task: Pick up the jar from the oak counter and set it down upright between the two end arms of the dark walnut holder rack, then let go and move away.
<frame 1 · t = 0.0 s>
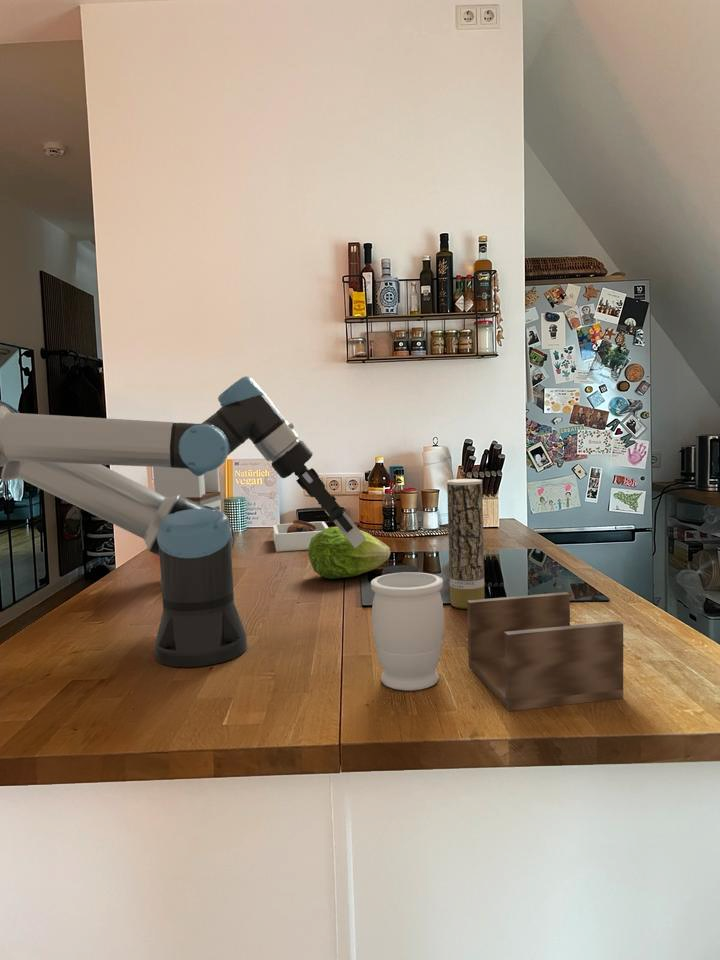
hand: (354, 536, 132), 15 cm above the worktop, fingers open, 13 cm apart
jar: (409, 681, 100), on the worktop
smart speaker: (402, 587, 154), on the worktop
paper tube: (467, 606, 137), on the worktop
lettuce: (353, 575, 166), on the worktop
display case: (194, 582, 165), on the worktop
holder: (540, 680, 98), on the worktop
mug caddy: (301, 543, 207), on the worktop
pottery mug: (301, 545, 207), on the worktop
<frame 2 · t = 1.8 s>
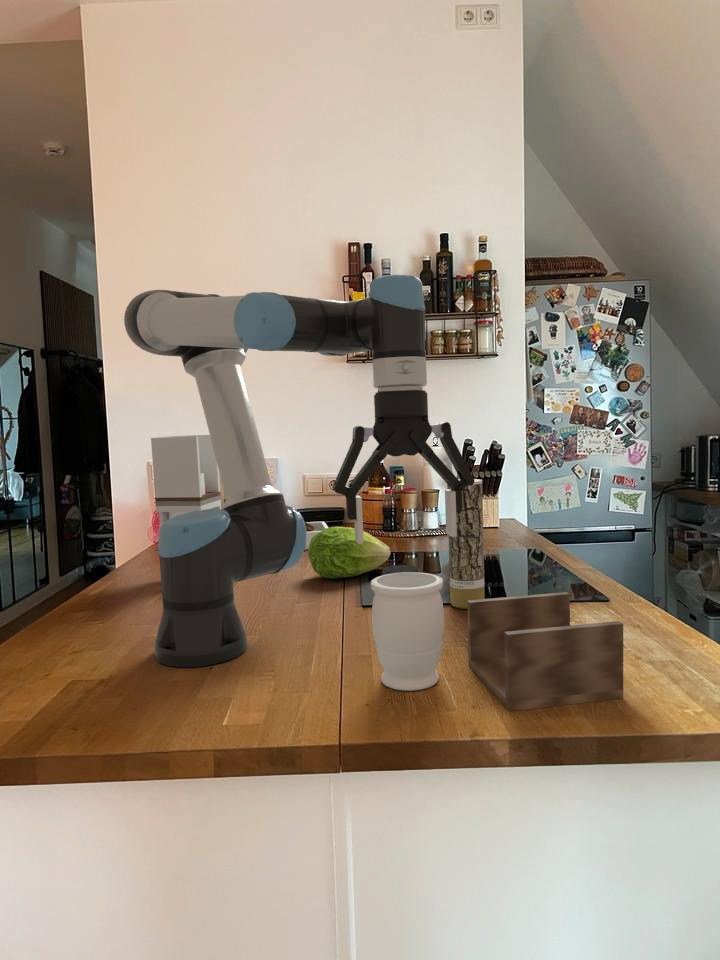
hand: (405, 538, 99), 21 cm above the worktop, fingers open, 13 cm apart
nothing on the worktop moved.
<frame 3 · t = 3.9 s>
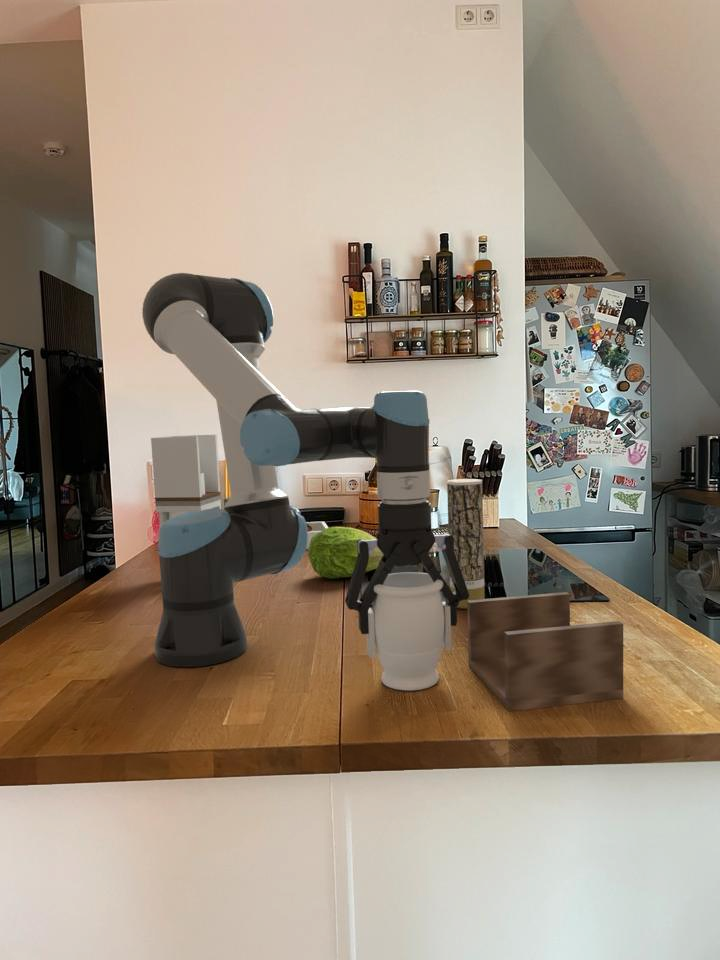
hand: (409, 651, 100), 4 cm above the worktop, fingers closed on jar, 10 cm apart
jar: (410, 681, 100), on the worktop, touching gripper
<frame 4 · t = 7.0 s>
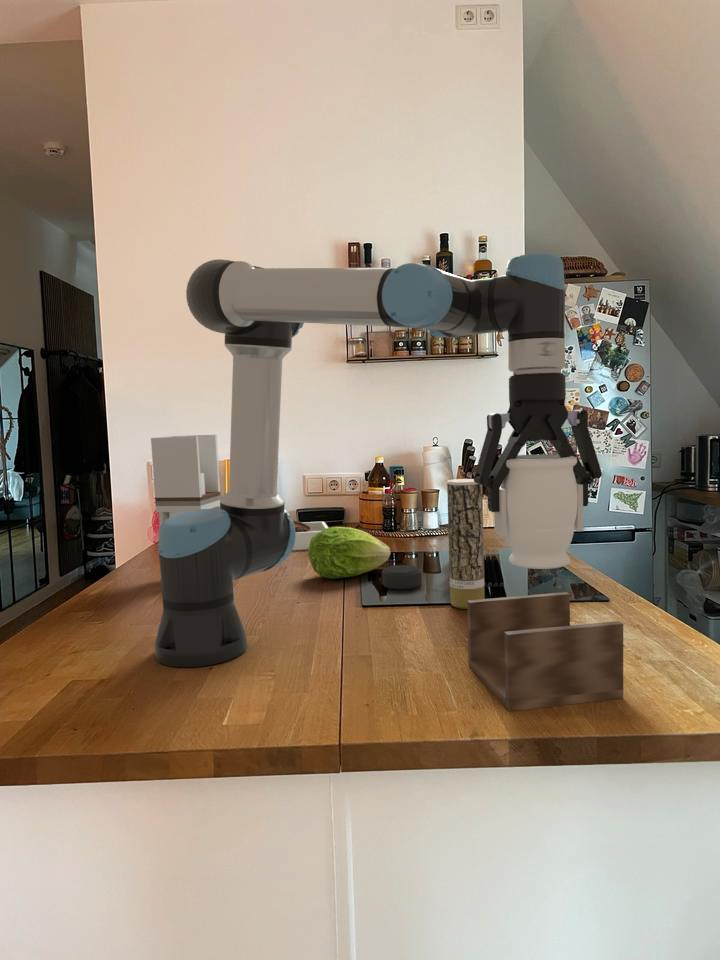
hand: (538, 532, 96), 22 cm above the worktop, fingers closed on jar, 10 cm apart
jar: (539, 564, 96), point 17 cm above the worktop, touching gripper
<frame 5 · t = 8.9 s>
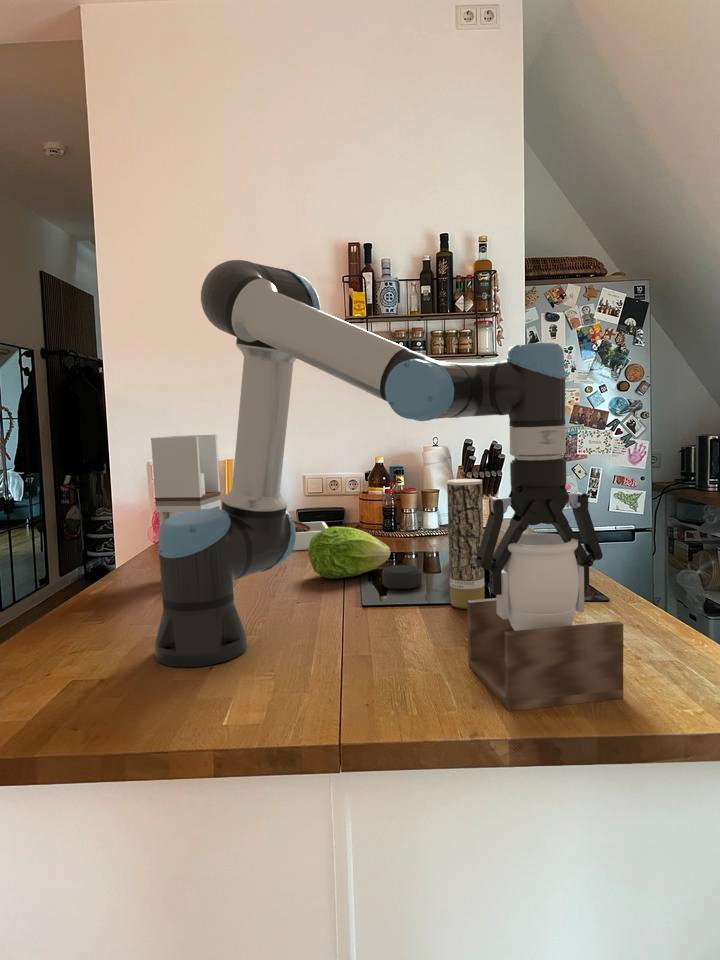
hand: (540, 613, 97), 10 cm above the worktop, fingers closed on jar, 10 cm apart
jar: (541, 644, 97), point 5 cm above the worktop, touching gripper
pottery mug: (295, 545, 207), on the worktop, touching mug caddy
everything else where it was.
when the fingers open (7 cm above the worktop, at t = 10.2 s): jar drops 1 cm, resting on holder.
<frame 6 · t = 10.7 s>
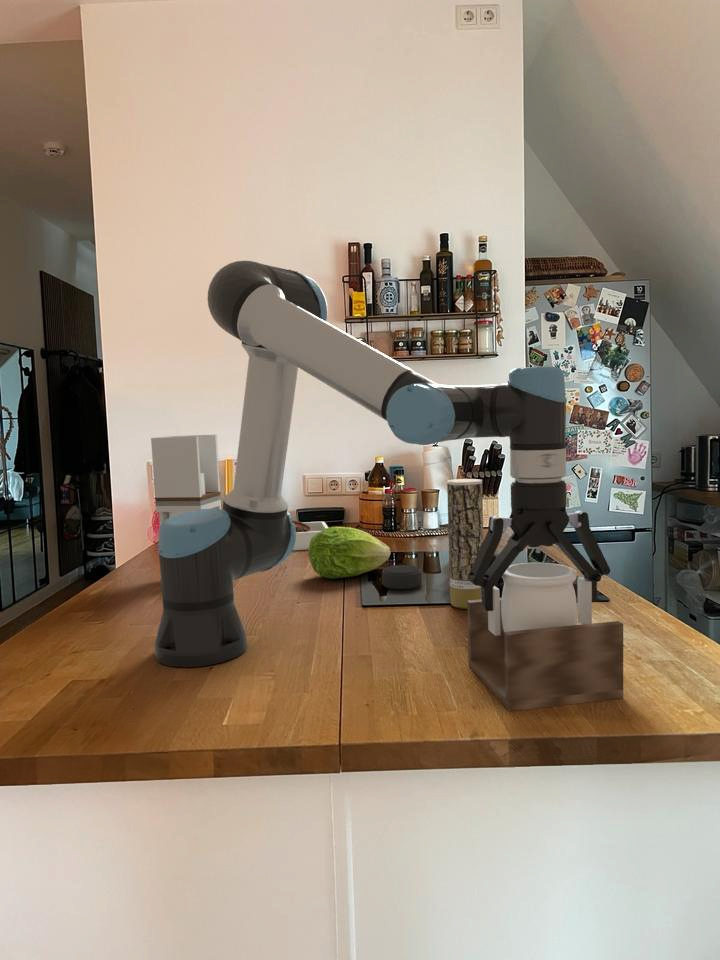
hand: (540, 628, 97), 8 cm above the worktop, fingers open, 13 cm apart
jar: (539, 674, 98), point 1 cm above the worktop, touching holder
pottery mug: (295, 545, 207), on the worktop
everything else where it was.
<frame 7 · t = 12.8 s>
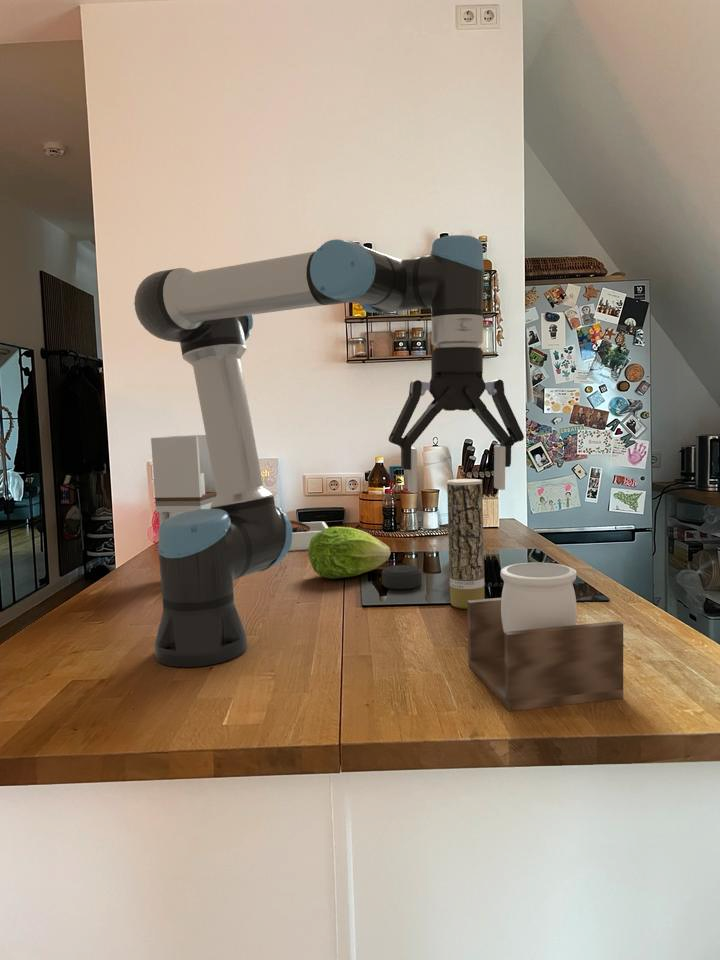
hand: (456, 490, 103), 27 cm above the worktop, fingers open, 13 cm apart
nothing on the worktop moved.
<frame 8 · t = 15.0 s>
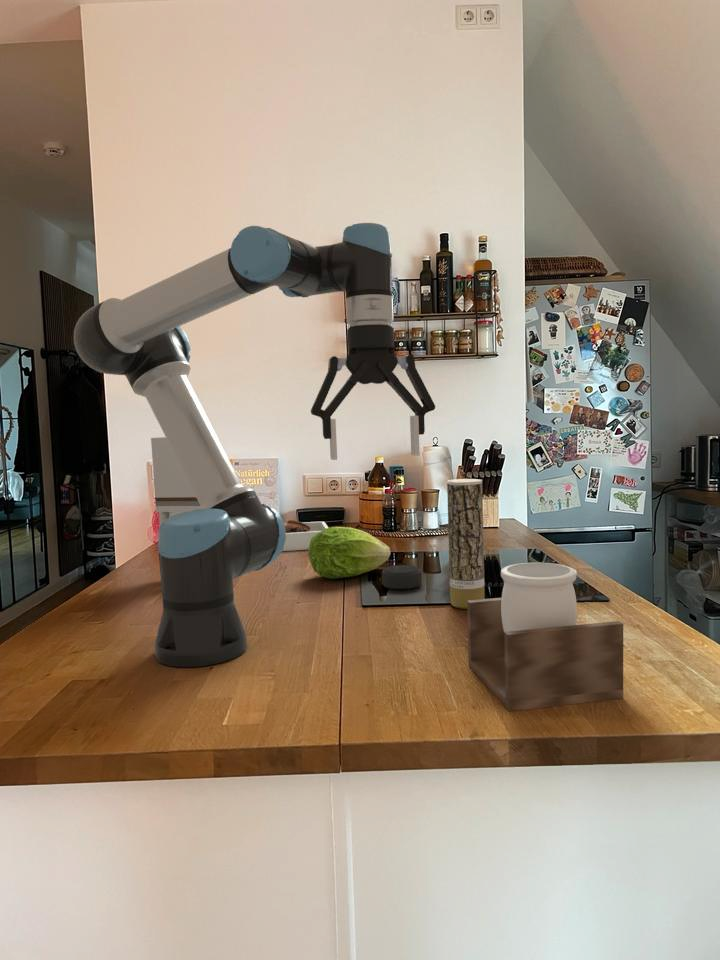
hand: (375, 457, 112), 32 cm above the worktop, fingers open, 13 cm apart
nothing on the worktop moved.
at the end: jar inside the target area on the holder (0.2 cm from its centre), point 1.0 cm above the holder's base; jar tilted 0°; the gripper is holding nothing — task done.
